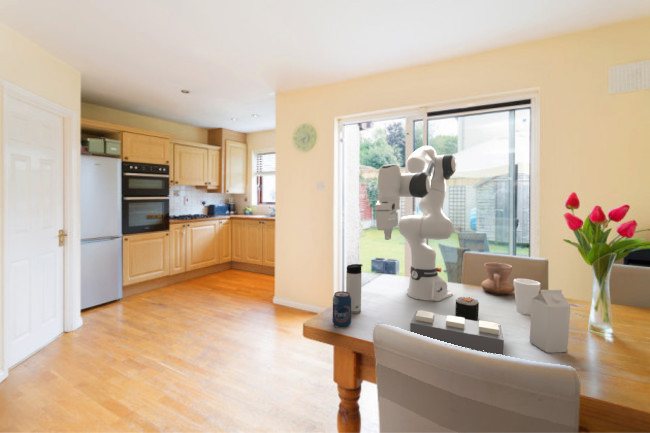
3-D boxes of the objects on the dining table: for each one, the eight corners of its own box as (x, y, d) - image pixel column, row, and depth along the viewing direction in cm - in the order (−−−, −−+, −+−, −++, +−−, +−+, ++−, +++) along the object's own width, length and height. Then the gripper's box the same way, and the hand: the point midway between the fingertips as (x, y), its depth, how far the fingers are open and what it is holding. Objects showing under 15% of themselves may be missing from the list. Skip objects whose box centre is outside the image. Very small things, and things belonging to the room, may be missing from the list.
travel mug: (361, 314, 126) (361, 266, 124) (345, 313, 127) (345, 265, 125) (362, 309, 132) (363, 263, 130) (347, 307, 133) (347, 262, 132)
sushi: (480, 318, 123) (481, 298, 122) (473, 324, 117) (473, 303, 116) (460, 312, 128) (460, 294, 128) (451, 318, 123) (452, 298, 122)
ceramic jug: (484, 285, 167) (485, 260, 166) (515, 290, 159) (516, 263, 157) (477, 294, 153) (478, 266, 152) (511, 300, 144) (512, 271, 143)
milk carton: (529, 342, 103) (532, 286, 101) (549, 341, 103) (552, 286, 102) (546, 353, 96) (549, 293, 94) (567, 352, 96) (571, 293, 95)
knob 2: (478, 342, 100) (479, 326, 99) (478, 335, 105) (478, 320, 104) (498, 346, 97) (498, 329, 97) (497, 338, 102) (497, 323, 102)
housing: (409, 336, 106) (410, 322, 106) (415, 323, 117) (416, 311, 117) (503, 355, 94) (504, 340, 94) (500, 339, 105) (500, 325, 104)
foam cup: (512, 306, 136) (513, 277, 135) (537, 310, 132) (539, 280, 131) (512, 313, 128) (514, 282, 127) (539, 317, 123) (541, 286, 122)
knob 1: (415, 330, 108) (415, 315, 108) (417, 324, 113) (418, 310, 113) (431, 333, 106) (432, 318, 106) (433, 327, 111) (434, 312, 111)
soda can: (334, 329, 112) (334, 297, 111) (331, 321, 118) (331, 291, 118) (353, 328, 113) (353, 296, 112) (348, 320, 119) (348, 290, 119)
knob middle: (445, 336, 104) (446, 320, 104) (446, 329, 109) (447, 315, 109) (463, 339, 102) (464, 323, 101) (464, 332, 107) (464, 317, 106)
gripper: (387, 204, 133) (386, 236, 134) (373, 205, 114) (372, 242, 115) (402, 204, 130) (401, 236, 131) (390, 205, 112) (389, 243, 113)
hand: (387, 239), depth 123 cm, fingers closed
